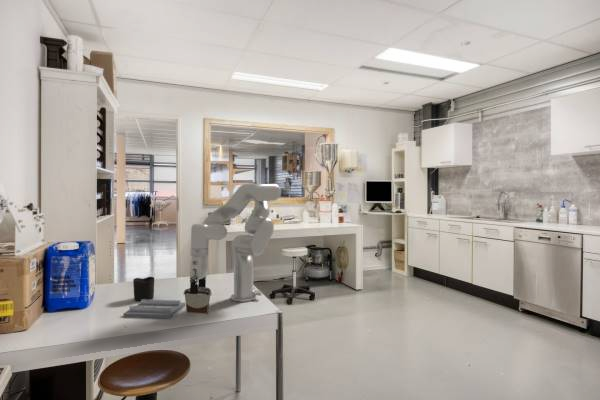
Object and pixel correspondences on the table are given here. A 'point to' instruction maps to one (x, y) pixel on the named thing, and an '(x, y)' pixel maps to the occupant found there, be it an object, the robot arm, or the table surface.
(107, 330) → the table surface
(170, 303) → the rail plate
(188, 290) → the food container
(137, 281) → the pen holder
